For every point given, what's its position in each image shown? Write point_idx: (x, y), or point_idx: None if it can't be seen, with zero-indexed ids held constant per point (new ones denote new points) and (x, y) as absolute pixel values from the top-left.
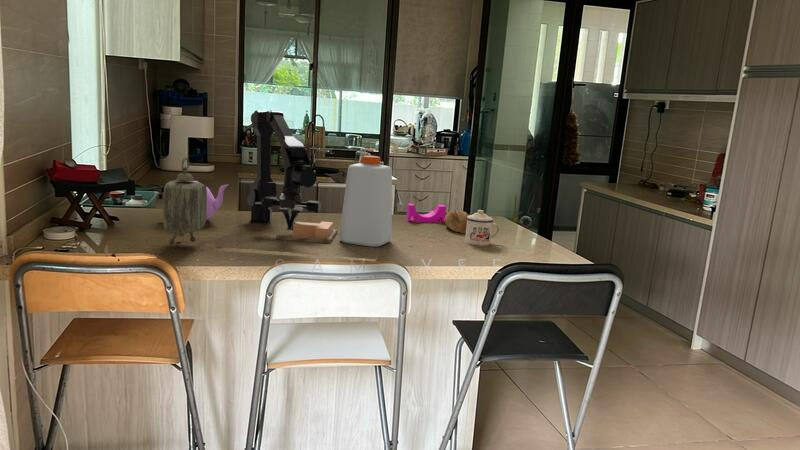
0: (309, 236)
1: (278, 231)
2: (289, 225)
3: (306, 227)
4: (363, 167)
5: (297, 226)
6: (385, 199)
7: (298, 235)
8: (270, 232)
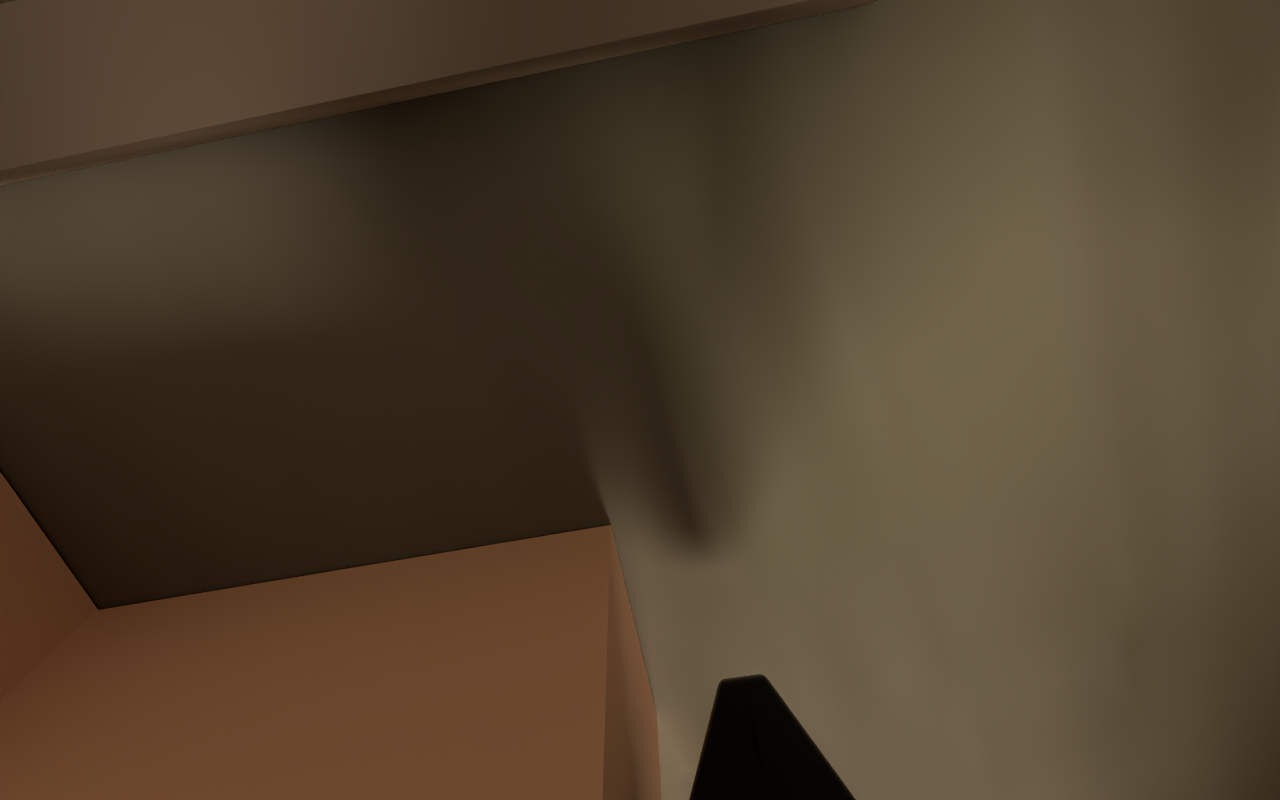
0: (247, 591)
1: (1000, 701)
2: (768, 766)
3: (190, 773)
4: None
5: (466, 738)
6: None
7: (487, 556)
8: (1145, 565)
